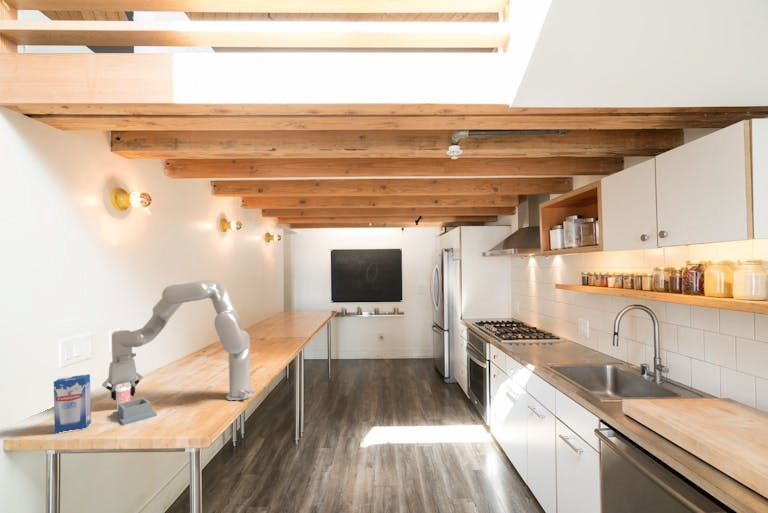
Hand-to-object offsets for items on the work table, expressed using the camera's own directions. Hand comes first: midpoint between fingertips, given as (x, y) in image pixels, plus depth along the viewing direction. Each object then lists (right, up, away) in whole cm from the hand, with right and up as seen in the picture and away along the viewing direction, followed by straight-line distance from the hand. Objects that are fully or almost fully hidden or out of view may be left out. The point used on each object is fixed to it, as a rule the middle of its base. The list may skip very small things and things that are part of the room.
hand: (123, 397), depth 171 cm
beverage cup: (0, -5, 0) cm, 5 cm away
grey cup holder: (+12, -4, -10) cm, 16 cm away
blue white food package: (-5, -5, -21) cm, 22 cm away
